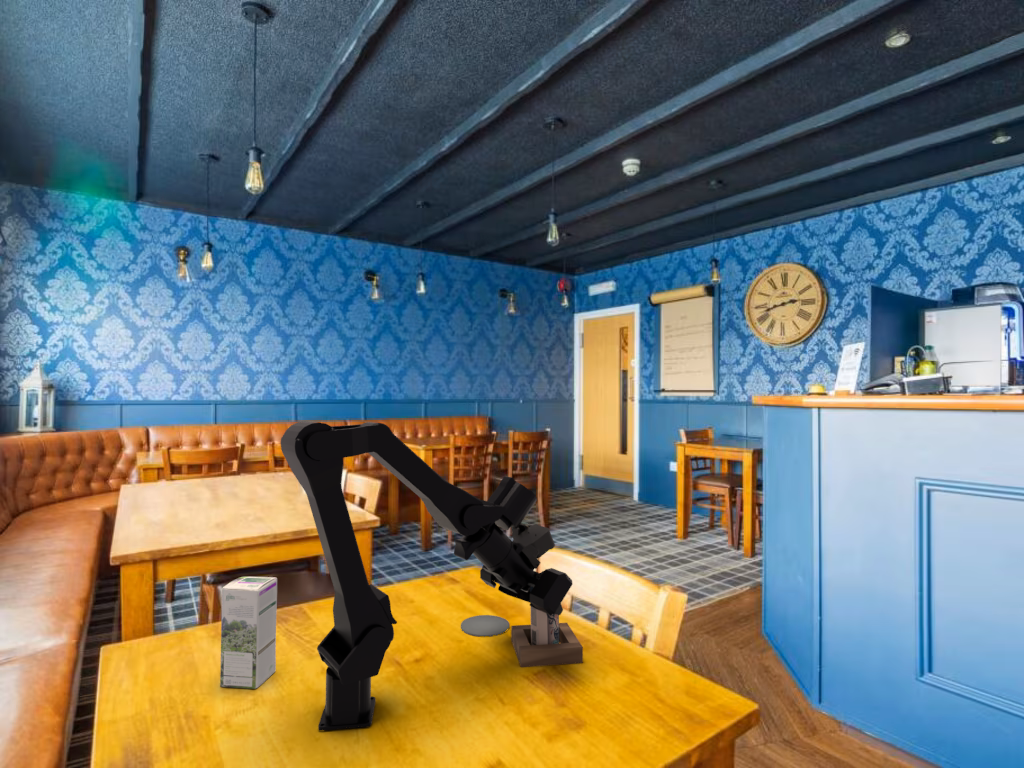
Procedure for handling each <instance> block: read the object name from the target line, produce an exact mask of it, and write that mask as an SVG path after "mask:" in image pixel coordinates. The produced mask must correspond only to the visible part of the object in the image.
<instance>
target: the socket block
mask: <svg viewBox="0 0 1024 768" xmlns="http://www.w3.org/2000/svg"><path fill="white" fill-rule="evenodd" d="M510 631H511V632H510V633H511V634H510V635H511V636H510V637H511V638H510V641H511V644H512V646H513V650H514V653H515V654H516V657H517V661H518V663H519V665H520V668H527V667H528V668H529V667H542V666H556V665H557V666H559V665H571V664H574V665H575V664H583V663H584V662H583V661H584V658H583V657H584V653H583V651H584V649H583V645H582V644H581V642H580V640H579V639H578V638H577V636H576V634H575V632H574V631H573V630H572V628H571V627H570V625H569V624H568V622H559V644H545V645H531V624H520V625H519V624H518V625H517V624H516V625H511V629H510Z"/></svg>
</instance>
